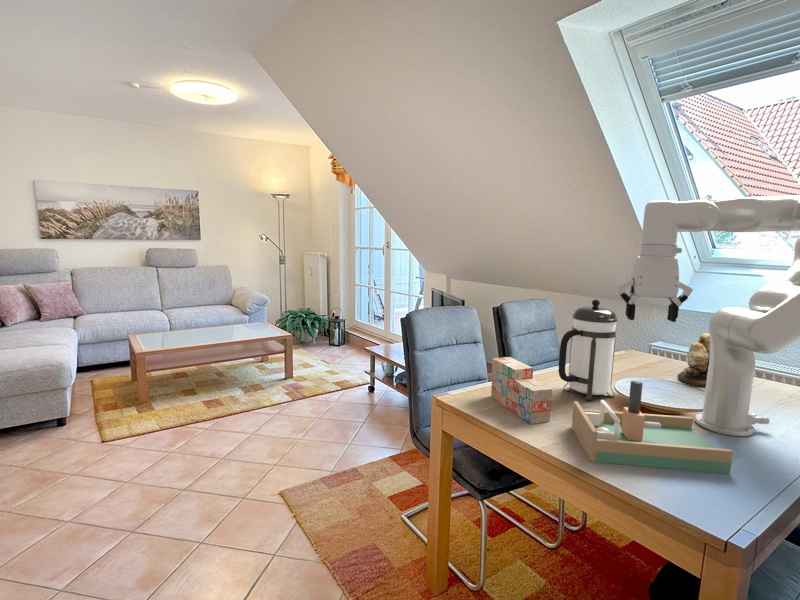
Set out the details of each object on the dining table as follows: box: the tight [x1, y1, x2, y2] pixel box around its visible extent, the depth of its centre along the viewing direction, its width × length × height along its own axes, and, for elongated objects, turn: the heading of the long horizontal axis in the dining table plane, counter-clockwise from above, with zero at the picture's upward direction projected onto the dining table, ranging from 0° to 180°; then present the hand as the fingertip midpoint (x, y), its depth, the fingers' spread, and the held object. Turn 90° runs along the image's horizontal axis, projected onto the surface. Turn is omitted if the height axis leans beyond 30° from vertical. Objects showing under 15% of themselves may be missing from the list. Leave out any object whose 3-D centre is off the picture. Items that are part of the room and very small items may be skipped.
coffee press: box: [558, 299, 619, 402], centre depth 137 cm, size 17×16×30 cm
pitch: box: [571, 399, 734, 475], centre depth 104 cm, size 28×18×9 cm, turn 81°
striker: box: [621, 380, 661, 441], centre depth 103 cm, size 8×5×13 cm, turn 81°
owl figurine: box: [677, 332, 710, 388], centre depth 154 cm, size 18×12×17 cm, turn 135°
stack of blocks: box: [490, 356, 553, 425], centre depth 127 cm, size 21×6×12 cm, turn 17°
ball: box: [596, 427, 611, 432], centre depth 106 cm, size 4×4×4 cm
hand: (650, 320), depth 112 cm, fingers open, 9 cm apart
